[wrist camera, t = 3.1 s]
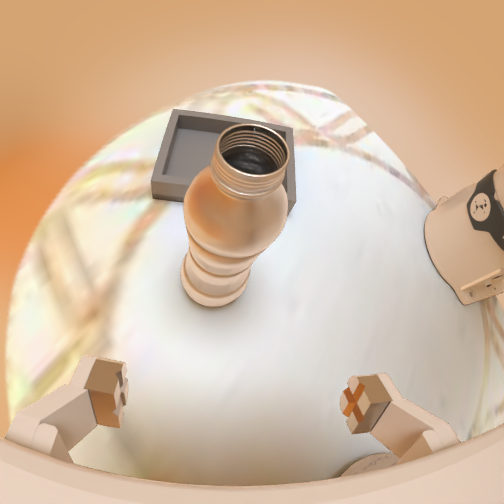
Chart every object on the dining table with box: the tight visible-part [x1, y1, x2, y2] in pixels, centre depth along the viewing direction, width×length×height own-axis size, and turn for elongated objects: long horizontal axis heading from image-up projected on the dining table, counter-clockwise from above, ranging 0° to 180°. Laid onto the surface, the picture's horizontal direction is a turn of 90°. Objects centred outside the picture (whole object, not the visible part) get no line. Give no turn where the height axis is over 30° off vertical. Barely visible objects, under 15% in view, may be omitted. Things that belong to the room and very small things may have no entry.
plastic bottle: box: [180, 123, 290, 307], centre depth 23 cm, size 6×7×20 cm
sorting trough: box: [151, 109, 296, 216], centre depth 37 cm, size 16×12×4 cm
